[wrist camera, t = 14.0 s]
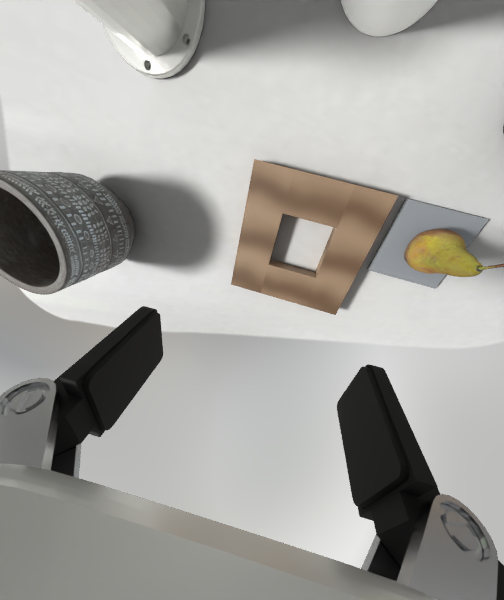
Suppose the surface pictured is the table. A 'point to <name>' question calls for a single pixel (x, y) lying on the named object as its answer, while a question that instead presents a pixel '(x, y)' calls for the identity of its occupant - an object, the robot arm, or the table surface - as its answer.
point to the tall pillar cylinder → (385, 14)
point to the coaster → (410, 224)
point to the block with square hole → (314, 207)
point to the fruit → (442, 254)
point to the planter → (59, 229)
